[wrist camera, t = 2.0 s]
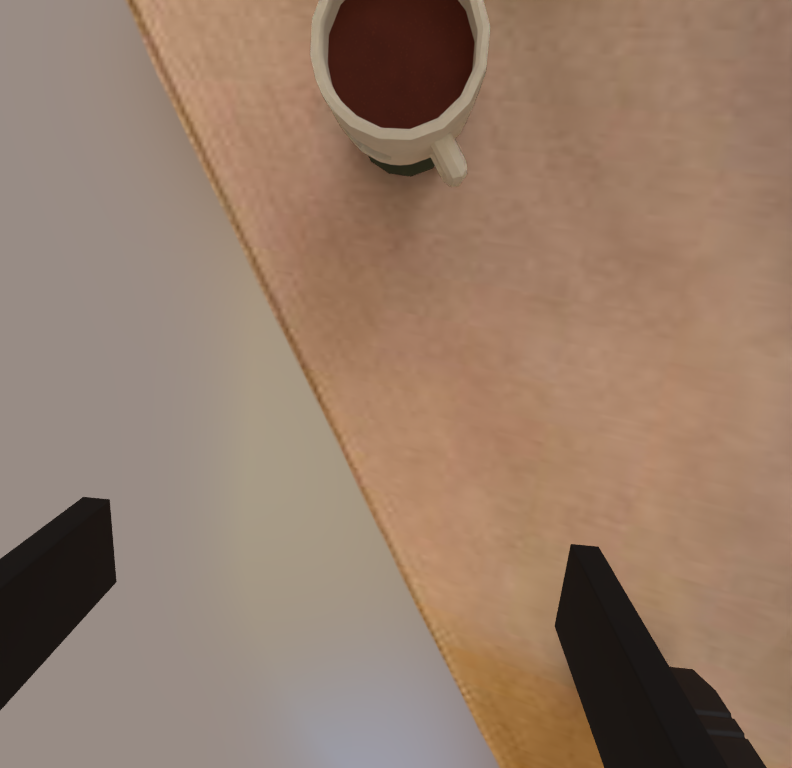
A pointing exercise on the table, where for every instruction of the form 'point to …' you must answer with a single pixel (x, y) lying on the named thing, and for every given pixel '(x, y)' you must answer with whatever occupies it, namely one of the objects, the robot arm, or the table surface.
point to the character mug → (402, 77)
